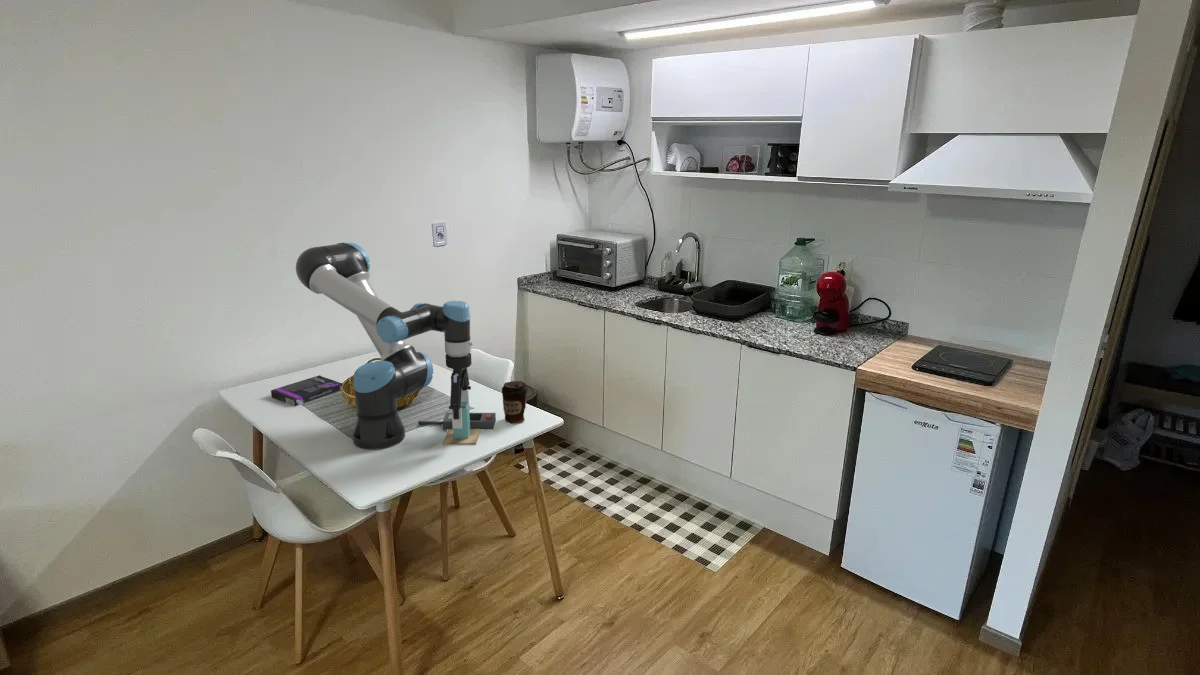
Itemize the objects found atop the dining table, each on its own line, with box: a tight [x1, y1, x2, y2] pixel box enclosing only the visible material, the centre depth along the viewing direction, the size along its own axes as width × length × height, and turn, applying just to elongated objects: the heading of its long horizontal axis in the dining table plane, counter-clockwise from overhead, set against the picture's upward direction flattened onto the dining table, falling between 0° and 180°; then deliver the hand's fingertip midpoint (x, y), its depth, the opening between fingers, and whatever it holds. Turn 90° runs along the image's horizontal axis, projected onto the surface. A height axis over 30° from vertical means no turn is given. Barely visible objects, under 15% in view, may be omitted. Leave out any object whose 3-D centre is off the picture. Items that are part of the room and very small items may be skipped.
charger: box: [453, 402, 471, 439], centre depth 193 cm, size 4×4×11 cm
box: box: [270, 374, 344, 407], centre depth 226 cm, size 14×4×20 cm
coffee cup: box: [501, 380, 528, 425], centre depth 206 cm, size 9×8×13 cm
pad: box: [442, 429, 481, 445], centre depth 195 cm, size 10×10×1 cm
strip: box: [417, 412, 497, 431], centre depth 203 cm, size 25×7×3 cm, turn 93°
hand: (461, 418), depth 193 cm, fingers open, 13 cm apart
